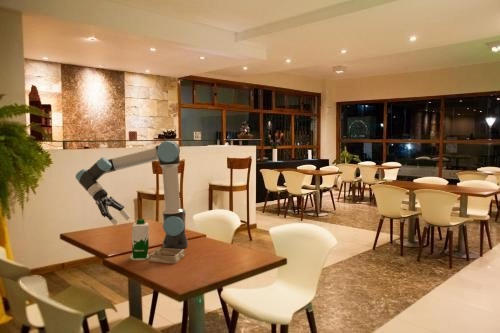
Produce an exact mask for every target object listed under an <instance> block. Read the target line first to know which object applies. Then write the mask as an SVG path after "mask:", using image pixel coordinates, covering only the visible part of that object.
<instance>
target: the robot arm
mask: <svg viewBox="0 0 500 333" xmlns="http://www.w3.org/2000/svg"><path fill="white" fill-rule="evenodd" d="M180 152H181V148H180V146H179V144H178V143H177V142H175V141H172V140H164V141H162V142H161V143H159V144H158V145H155V146H154V148H150V149H145V150H141V151H137V152H133V153H129V154H125V155H121V156H117V157H114V158H109V159H107V158H106V157H103V156H102V157H100V158H99V159H98V160H97V161H96V162H95V163H94V164H92V166H91V167H89V168H88V169H86V168H82V169H80V170H79V171H78V172H77V173H76V174H75V179H76V180H77V182H78V183H79V184H80V185H81V186H82V188H83V189H84V190H85V191H86V192H87V193H88V195H90V197H92V199H93V200H94V201H95V204H96V206H97V207H98V210H99V212H100V215H101V216H102V217H104V218H107V219H108V220H109V222H111V223H112V225H113V226H116V225H117V224H118V223H119V221H118V220H117V218H116V217H115V216H114V215H113V214H112V213H111V212H109V207H111V208H113V209H115V210H117V211H118V212H119V214H121V216H122V217H123V219H125V220H126V221H128V220H129V219H130V218H131V216H130V215H129V214H128V212H127V211H126V210H125V206H124V205H123V204H122V203H120V202H119V201H117V200H116V199H114V197H113V196H109V197H108V192H107V190H106V189H104V188H103V186H102V185H101V184H100V183H99V182H98V180H99V179H100V178H101V177H102V176H104V175H105V174H109V173H112V172H113V173H114V172H116V171H120V170H124V169H128V168H132V167H136V166H140V165H144V164H149V163H151V162H156V161H158V163H159V166H160V167H161V169H162V179H163V180H162V184H163V196H164V197H163V198H164V207H165V208H164V210H163V211H162V220H163V222H162V223H163V224H162V229H163V231H164V233H165V235H164V238H163V242H162V248H170V249H184V248H187V247H188V246H189V241H188V238H187V235H186V234H187V233H186V214H187V213H186V210H185V209H184V208H181V199H180V185H179V168H178V167H179V165H180V164H181V161H180Z"/></svg>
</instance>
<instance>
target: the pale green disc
mask: <svg viewBox="0 0 500 333" xmlns="http://www.w3.org/2000/svg"><path fill="white" fill-rule="evenodd" d="M149 255H150V254H149V253H147V258H133V254H132V255H130V256H129V259H130V261H131V260H132V261H136V262H137V261H138V262H139V261H146V260H149Z"/></svg>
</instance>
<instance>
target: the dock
mask: <svg viewBox="0 0 500 333" xmlns="http://www.w3.org/2000/svg"><path fill="white" fill-rule="evenodd" d="M185 252H186V251H185V249H184V248H181V249H170V248H164V247H159V248H158V249H156V250H155V251H152V252H151V253H150V254H149V259H148V261H149V262H150V263H151V262H152V263H153V262H154V263H164V264H176V263H178V262H179V261H180V260H182V258H183V257H185Z"/></svg>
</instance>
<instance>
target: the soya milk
mask: <svg viewBox="0 0 500 333" xmlns="http://www.w3.org/2000/svg"><path fill="white" fill-rule="evenodd" d="M145 220H146V219H144V218H139V219H136V222H134V223H133V224H132V228H131V231H132V232H131V251H132V255H133V258H147V254H149V253H148V252H149V248H150V247H149V246H150V245H149V243H150V242H149V241H150V240H149V239H150V233H149V231H150V230H149V229H150V227H149V222H145Z"/></svg>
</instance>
